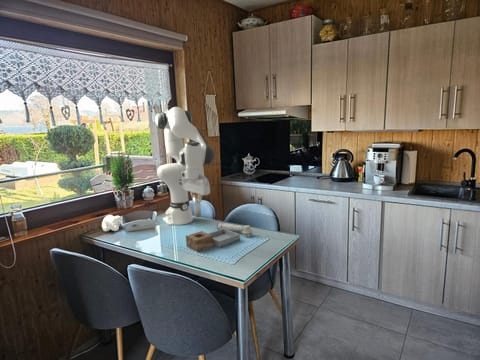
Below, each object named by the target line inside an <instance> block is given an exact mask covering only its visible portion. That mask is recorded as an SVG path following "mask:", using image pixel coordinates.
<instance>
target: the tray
mask: <svg viewBox="0 0 480 360" xmlns="http://www.w3.org/2000/svg"><path fill="white" fill-rule="evenodd" d="M208 234H210V235H213V247H217V248H219V249H220V248H223V247H225V246H226V247H227V246H228V245H231V244H233V243H237V242H239V241H241V236H240V233H237V232H234V231H233V230H227V229H224V228H223V229H217V230H214V231H211V232H208Z"/></svg>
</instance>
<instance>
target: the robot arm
mask: <svg viewBox="0 0 480 360" xmlns="http://www.w3.org/2000/svg"><path fill="white" fill-rule="evenodd" d="M154 122H155V124H156V126H157V128H158V129H159V130H164V144H165V152H166V155H167V156H168V157H170V158H172V159H174V160H175V161H176V162H174V163H165V164H162V165H159V166H158V168H157V170H156V175H157V178H158V179H159V180H160V181H161V182H163V183H164V184H165V185H166V186H167V187H168V189H169V194H170V201H169V207H168V208H167V209H166V210H165V213H164V217H162V220H163V222H164V223H166V224H167V225H168V226H173V225H174V226H180V225H187V224H189V223H192V222H193V220H194V219H195V216H193V211H192V207H191V206H190V199H189V193H190V196H191V200H192V201H194V199H193V195H195V194H198V198H197V202H200V203H201V202H202V200H203V199H202V198H203V196H208V195H210V194H211V187H210V182H209V180H208V178H207V176H206V175H205V173H204V172H205V170H204V166H209V165H211V164H212V163H213V162H214V160H215V152H214V149H213V148H212V147H211V146H210V145H209V144H208V142H207V140H206V138H205V137H204V136H203V134H202V132H201V131H200V129H199V128H198V127H196V126H195V125H193V123H192V122H193V117H192V113H191V112H190V111H188V110H184V109H183V108H181V107H179V106H174V107H171V108H170V109H169V110H166V111H159V112H157V113H156V115H155V118H154ZM183 139H187V140H191V141H187V142H186V143H185V144H184V140H183ZM203 165H204V166H203ZM180 180H181V183H179V181H180Z"/></svg>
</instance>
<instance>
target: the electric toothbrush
mask: <svg viewBox="0 0 480 360" xmlns="http://www.w3.org/2000/svg"><path fill="white" fill-rule="evenodd" d="M216 228H217V230H220V229H223V228H224V229H227V230H229V231H232V232H234V231H236V232H241V234H242V236H243V237H244V238H250V237H252V236H253V230H252V229H251V226H250V225H239V224H234V223H233V224H232V223H226V222H218V223H217V224H216Z"/></svg>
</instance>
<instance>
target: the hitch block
mask: <svg viewBox="0 0 480 360" xmlns="http://www.w3.org/2000/svg"><path fill="white" fill-rule="evenodd" d="M208 233H209V232H208ZM208 233H207V232H205V231H203V230H201V231H197V232H194V233H191V234H187V235H185V242H186V243H185V244H186V247H187V248H189V249H191V250H192V251H194V252H196V253H199V252H201V251H204V250H207V249H210V248H212V247H214V245H213V235H210V234H208Z"/></svg>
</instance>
